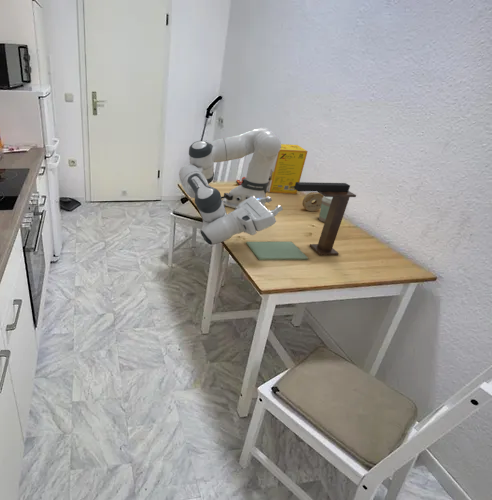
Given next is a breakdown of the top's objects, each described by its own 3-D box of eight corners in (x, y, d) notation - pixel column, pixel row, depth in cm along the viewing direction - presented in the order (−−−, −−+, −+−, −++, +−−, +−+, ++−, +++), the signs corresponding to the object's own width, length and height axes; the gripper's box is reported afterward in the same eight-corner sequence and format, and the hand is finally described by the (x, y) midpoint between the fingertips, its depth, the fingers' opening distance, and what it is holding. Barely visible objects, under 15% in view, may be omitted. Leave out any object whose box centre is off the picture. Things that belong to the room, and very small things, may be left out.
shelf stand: (306, 256, 143) (325, 194, 131) (294, 245, 152) (311, 185, 140) (339, 256, 145) (361, 195, 133) (325, 245, 154) (345, 186, 142)
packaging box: (261, 183, 227) (270, 143, 215) (287, 185, 227) (297, 144, 215) (268, 192, 213) (278, 149, 201) (296, 193, 212) (307, 151, 201)
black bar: (298, 191, 133) (299, 184, 132) (294, 188, 136) (295, 182, 135) (348, 191, 135) (350, 185, 134) (343, 189, 138) (345, 182, 137)
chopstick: (246, 193, 208) (246, 192, 207) (236, 181, 229) (236, 179, 228) (249, 194, 208) (250, 192, 207) (239, 181, 229) (239, 179, 228)
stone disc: (319, 209, 191) (324, 191, 187) (321, 212, 188) (327, 194, 183) (299, 208, 191) (304, 190, 187) (302, 211, 188) (307, 192, 183)
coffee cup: (336, 224, 174) (344, 201, 168) (318, 222, 175) (325, 199, 170) (332, 218, 181) (339, 195, 176) (314, 216, 183) (321, 193, 177)
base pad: (259, 260, 139) (259, 258, 139) (246, 243, 151) (246, 241, 151) (307, 259, 142) (308, 257, 141) (290, 243, 154) (291, 241, 153)
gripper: (235, 215, 149) (267, 199, 147) (254, 237, 131) (290, 220, 129) (230, 202, 146) (262, 186, 144) (249, 223, 128) (285, 205, 126)
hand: (275, 202), depth 136 cm, fingers open, 8 cm apart
